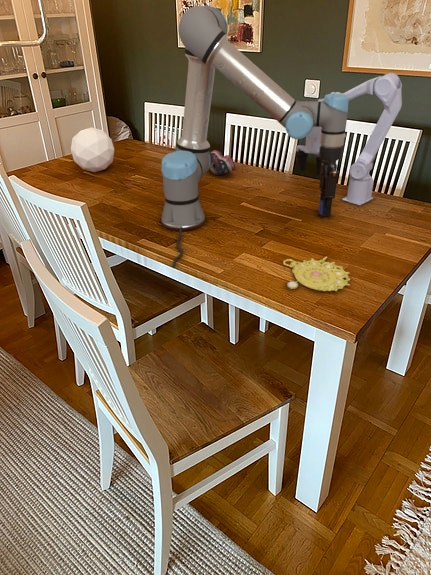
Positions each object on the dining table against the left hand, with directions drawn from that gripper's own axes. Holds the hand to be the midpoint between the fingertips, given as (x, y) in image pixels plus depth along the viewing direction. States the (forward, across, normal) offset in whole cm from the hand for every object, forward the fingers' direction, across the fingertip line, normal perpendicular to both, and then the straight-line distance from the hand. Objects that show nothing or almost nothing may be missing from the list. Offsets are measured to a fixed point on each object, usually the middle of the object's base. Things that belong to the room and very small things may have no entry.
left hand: (324, 212), depth 156 cm
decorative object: (+1, -40, +12) cm, 42 cm away
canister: (0, 0, 0) cm, 0 cm away
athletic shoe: (+1, +53, +36) cm, 64 cm away
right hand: (-7, +24, 0) cm, 25 cm away
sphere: (+1, +64, +92) cm, 112 cm away
